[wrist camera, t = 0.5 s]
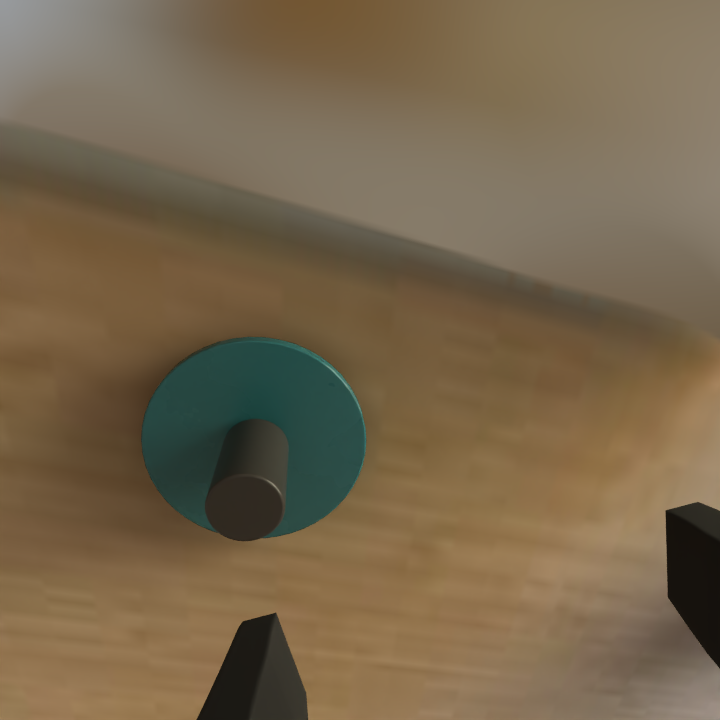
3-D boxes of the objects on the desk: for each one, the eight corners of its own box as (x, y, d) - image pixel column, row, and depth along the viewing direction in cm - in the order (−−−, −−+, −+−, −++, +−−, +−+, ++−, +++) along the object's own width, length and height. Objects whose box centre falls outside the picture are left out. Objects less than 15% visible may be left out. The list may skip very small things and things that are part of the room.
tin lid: (385, 487, 20) (408, 573, 15) (198, 544, 20) (167, 646, 15) (329, 304, 17) (337, 344, 13) (113, 368, 17) (47, 431, 13)
